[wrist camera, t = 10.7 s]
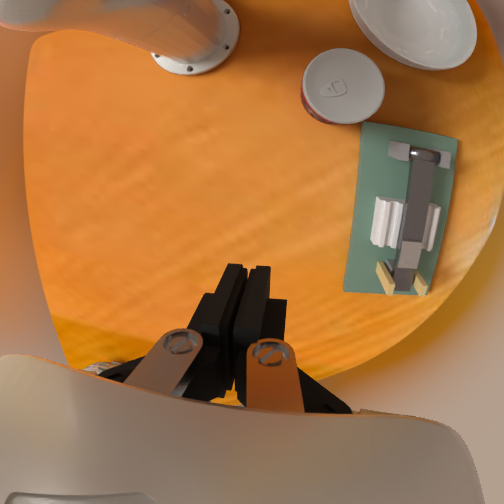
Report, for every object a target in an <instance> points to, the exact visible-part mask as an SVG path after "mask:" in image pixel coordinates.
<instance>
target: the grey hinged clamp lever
mask: <svg viewBox="0 0 504 504" xmlns="http://www.w3.org/2000/svg"><path fill="white" fill-rule="evenodd" d="M409 159H410V165H409V175H408V183H407V191H406V199H405V205H404V212H403V218H402V224H401V230H400V235H399V241H398V246H397V251H396V256H395V260H394V265H393V270H392V274H391V277H392V279H393V281H394V283H395V287H394V291H407V292H410V289H411V285H412V281H413V278H414V274H415V270H416V269H417V266H418V262H419V258H420V254H421V249H422V245H423V242H422V240H423V235H424V230H425V225H426V219H427V214H428V208H429V202H430V195H431V189H432V181H433V173H434V164H438V163H439V160H440V155H439V152H438V151H434V150H429V149H424V148H418V147H413V146H410V149H409Z"/></svg>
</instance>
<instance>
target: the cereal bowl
mask: <svg viewBox="0 0 504 504" xmlns="http://www.w3.org/2000/svg"><path fill="white" fill-rule="evenodd" d="M349 4H350V8H351V12H352V14H353V17H354V19H355V21H356V23H357V24H358V26H359V28H360V30H361V31H362V32H363V34H364V35H365V36H366V37H367V38H368V39H369V40H370V42H371V43H373V45H374V46H376V47H377V48H378V49H379V50H380V51H382V52H383V53H384V54H386V55H387V56H389V57H391V58H392V59H394V60H396V61H398V62H400V63H402V64H405V65H408V66H411V67H414V68H418V69H423V70H446V69H451V68H455V67H457V66H459V65H461V64H463V63H464V62H465V61H466V60H467V59H468V58H469V57H470V56H471V54H472V53H473V51H474V48H475V46H476V41H477V27H476V22H475V18H474V15H473V12H472V10H471V8H470V5H469V4H468V2H467V0H349Z"/></svg>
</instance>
